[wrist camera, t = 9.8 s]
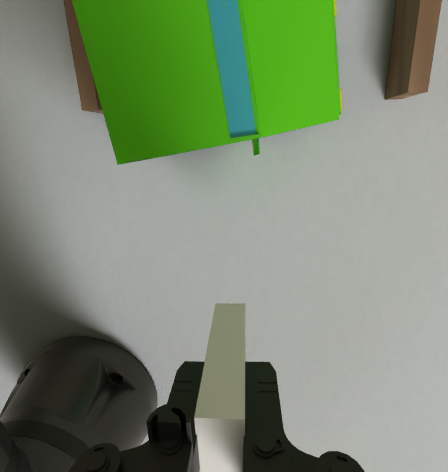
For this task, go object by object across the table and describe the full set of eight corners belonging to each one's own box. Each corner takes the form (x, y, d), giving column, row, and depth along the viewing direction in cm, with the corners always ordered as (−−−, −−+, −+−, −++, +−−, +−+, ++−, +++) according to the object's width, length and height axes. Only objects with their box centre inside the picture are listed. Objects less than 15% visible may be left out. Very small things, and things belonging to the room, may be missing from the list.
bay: (105, 114, 25) (82, 110, 21) (84, -27, 22) (54, -57, 18) (401, 98, 22) (427, 91, 19) (422, -62, 19) (457, -104, 16)
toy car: (329, 138, 24) (379, 137, 14) (171, 167, 26) (123, 183, 16) (317, -12, 21) (370, -139, 11) (140, 33, 23) (60, -42, 13)
